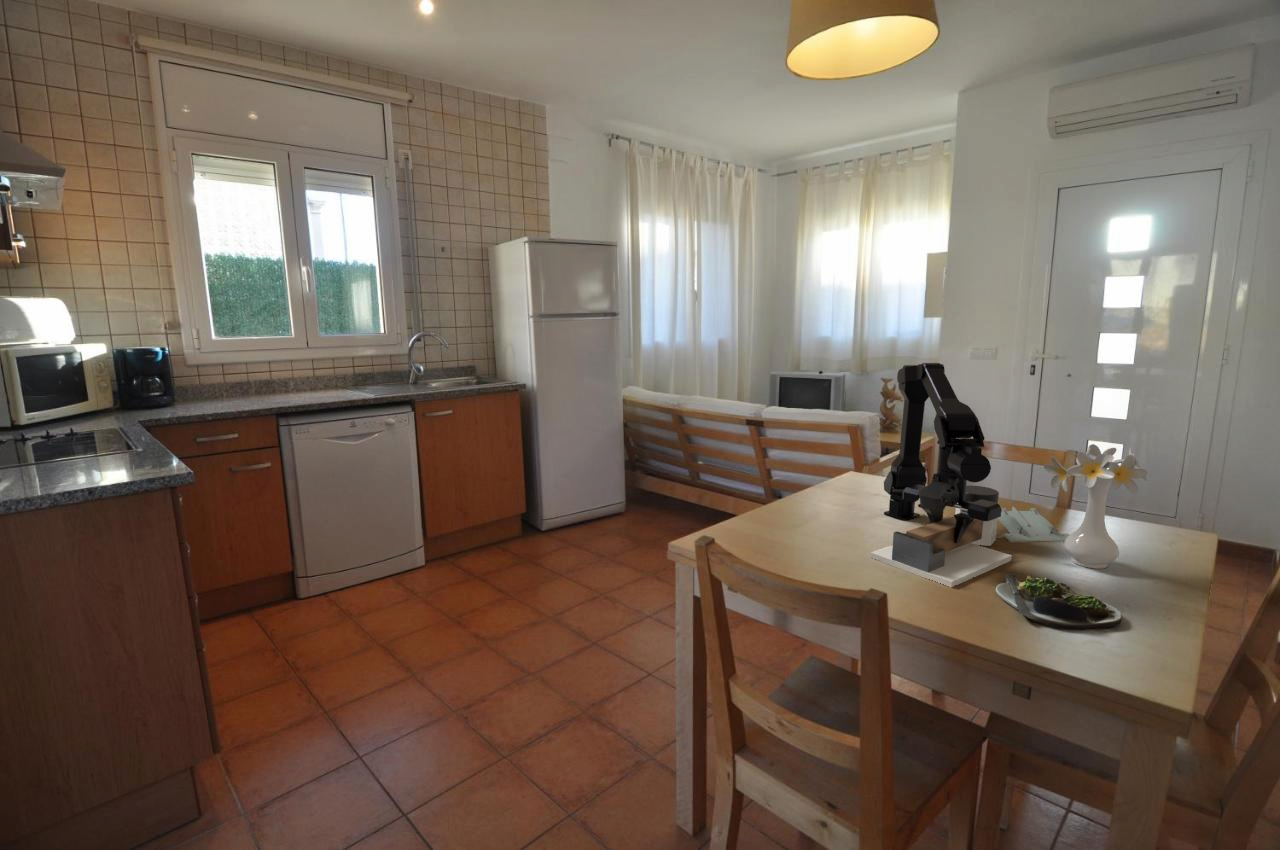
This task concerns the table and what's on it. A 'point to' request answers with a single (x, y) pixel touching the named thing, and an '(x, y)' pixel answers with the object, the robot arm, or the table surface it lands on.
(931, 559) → the bracket
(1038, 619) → the salad plate
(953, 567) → the mounting board
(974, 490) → the jar
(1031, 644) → the table surface
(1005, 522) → the pale green slanted stand
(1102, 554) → the flower vase
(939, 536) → the walnut rail
